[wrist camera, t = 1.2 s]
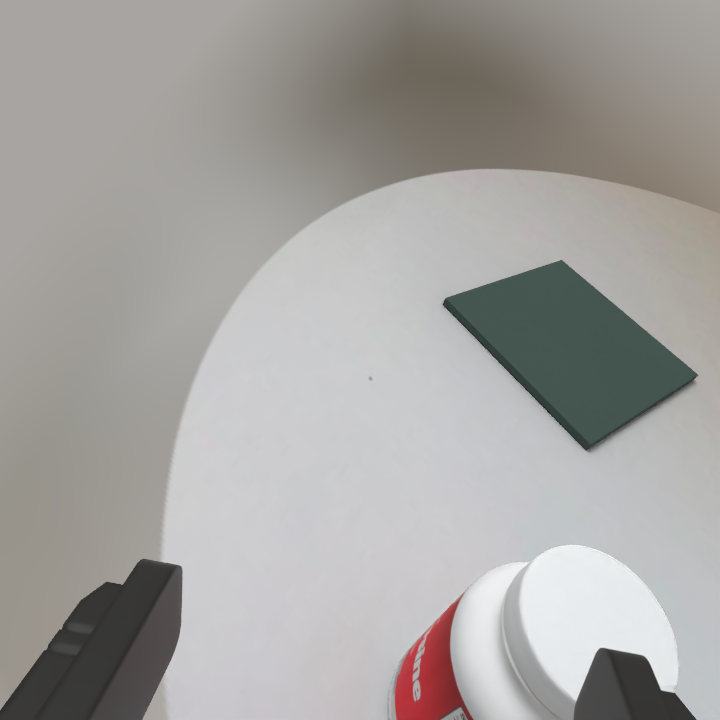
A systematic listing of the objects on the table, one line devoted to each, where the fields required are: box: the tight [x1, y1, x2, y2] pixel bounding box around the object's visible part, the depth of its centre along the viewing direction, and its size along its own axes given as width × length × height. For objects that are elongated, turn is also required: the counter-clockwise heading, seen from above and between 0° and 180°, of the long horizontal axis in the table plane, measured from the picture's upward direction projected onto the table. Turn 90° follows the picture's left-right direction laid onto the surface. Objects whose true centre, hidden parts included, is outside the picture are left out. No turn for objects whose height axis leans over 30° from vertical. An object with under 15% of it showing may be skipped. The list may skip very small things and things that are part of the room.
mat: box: [443, 260, 698, 449], centre depth 42 cm, size 14×14×1 cm
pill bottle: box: [388, 545, 679, 720], centre depth 20 cm, size 6×6×11 cm
